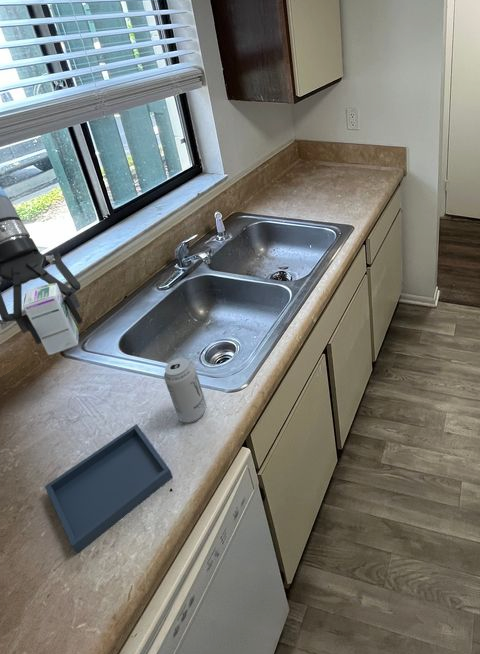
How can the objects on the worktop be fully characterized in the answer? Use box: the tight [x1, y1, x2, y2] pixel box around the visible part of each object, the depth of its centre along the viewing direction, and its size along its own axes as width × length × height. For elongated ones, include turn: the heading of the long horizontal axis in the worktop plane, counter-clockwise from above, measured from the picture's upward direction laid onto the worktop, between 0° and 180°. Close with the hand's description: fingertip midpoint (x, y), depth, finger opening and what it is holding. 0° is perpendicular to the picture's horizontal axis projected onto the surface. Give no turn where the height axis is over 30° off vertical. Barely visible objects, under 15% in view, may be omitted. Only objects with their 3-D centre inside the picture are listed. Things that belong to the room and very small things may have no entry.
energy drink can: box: [163, 356, 207, 424], centre depth 97 cm, size 6×6×15 cm
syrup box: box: [22, 283, 79, 356], centre depth 97 cm, size 6×6×14 cm
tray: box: [44, 424, 173, 555], centre depth 85 cm, size 16×17×3 cm
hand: (60, 331), depth 96 cm, fingers closed on syrup box, 7 cm apart
